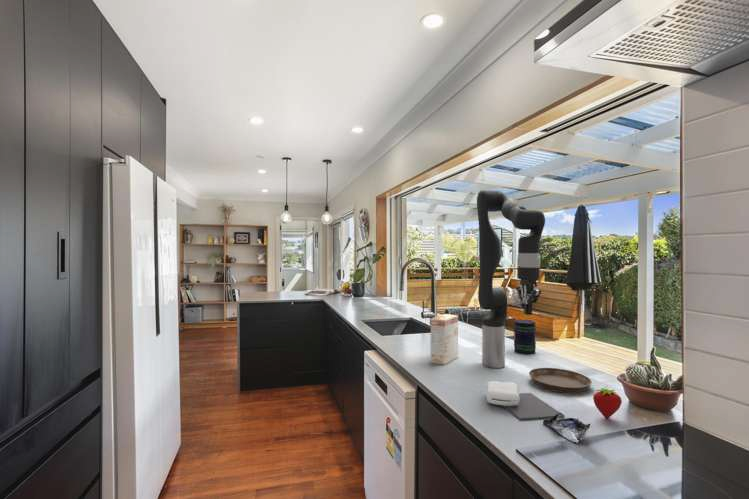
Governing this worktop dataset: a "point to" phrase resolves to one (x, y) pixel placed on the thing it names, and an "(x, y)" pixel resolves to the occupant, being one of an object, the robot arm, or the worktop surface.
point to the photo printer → (502, 393)
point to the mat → (532, 408)
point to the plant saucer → (560, 380)
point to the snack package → (568, 425)
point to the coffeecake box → (444, 338)
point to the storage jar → (524, 337)
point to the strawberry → (607, 402)
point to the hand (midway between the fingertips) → (527, 314)
